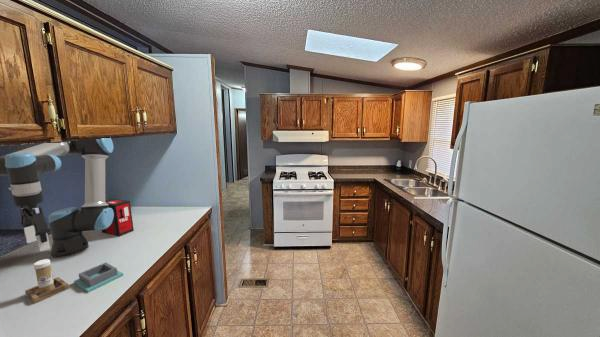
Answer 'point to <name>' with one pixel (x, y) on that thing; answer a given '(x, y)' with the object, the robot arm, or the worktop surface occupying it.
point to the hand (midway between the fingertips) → (38, 245)
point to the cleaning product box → (120, 218)
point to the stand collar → (36, 299)
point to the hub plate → (97, 277)
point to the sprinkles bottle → (44, 275)
